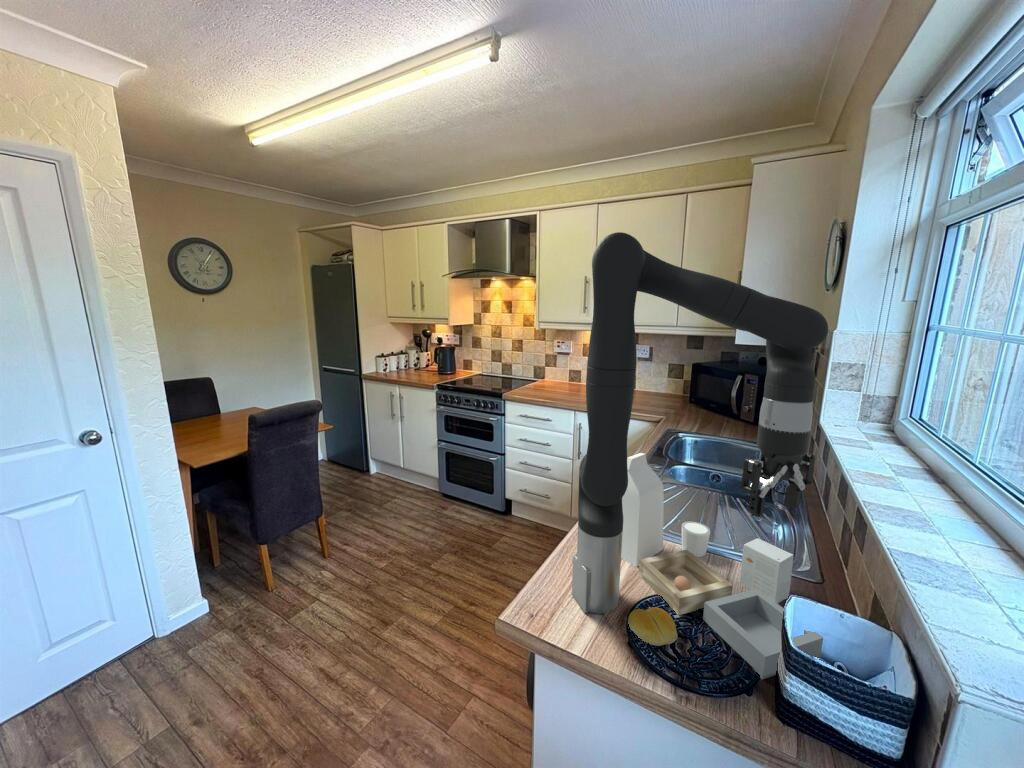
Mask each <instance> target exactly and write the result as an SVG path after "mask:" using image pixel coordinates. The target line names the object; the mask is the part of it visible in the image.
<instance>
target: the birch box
mask: <svg viewBox="0 0 1024 768" xmlns="http://www.w3.org/2000/svg"><path fill="white" fill-rule="evenodd" d="M637 572H638V576H639V577H640V578H641V579H642V581H644V582H645V583H646V584H647V586H649V588H651V589H652V591H653V592H655V594H657V596H659V595H660V596H662V597H663V599H664V600H665V601H666V602H667V603H668V604H669V606H670V607H671V608H672V609H673V610H674V611H675V612H676V613H675V612H674V611H673V610H672V609H671V608H670V607H669V606H668V607H669V608H670V609H671V610H672V611H673V612H674V613H675V614H676V615H677V616H681V615H686V614H688V613H692V611H693V612H697V611H699V610H698V609H700V608H703V607H704V603H705V602H707V601H711V600H715V599H719V598H722V597H726V596H730V595H732V593H733V592H732V591H733V584H732V583H731V582H730V581H728V580H727V579H725V578H724V577H723V576H722V575H720V574H719V573H718V572H716V571H715V570H714V569H712V568H711V567H710V566H709V565H707V564H706V563H705V562H704V561H702V560H701V559H700V558H699V557H696V556H694V555H693V554H692V553H691V552H689V551H688V550H679V551H673V552H670V553H665V554H659V555H654V556H652V557H649V558H644V559H640V560H639V566H638V571H637ZM678 576H684V577H686V578H687V579H688V580H689V581H690V584H691V588H690V589H689V590H685V591H680V590H679V589H677V588H676V587H675V585H674V580H675V578H676V577H678ZM660 596H659V597H660ZM663 599H662V600H663ZM664 600H663V601H664ZM665 601H664V602H665ZM696 610H697V611H696Z"/></svg>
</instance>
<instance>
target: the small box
mask: <svg viewBox="0 0 1024 768" xmlns="http://www.w3.org/2000/svg"><path fill="white" fill-rule="evenodd" d="M741 557H742V558H741V559H742V560H741V568H740V576H739V578H740V579H739V584H740V585H741V586H743V587H744V588H747V589H748V590H753V589H758V590H759V591H761V592H762V593H763V594H765V595H766V596H768V597H769V598H770V599H772V600H773V601H774V602H776V603H777V604H778V605H779V603H781V602H782V601H784V600H787V599H789V598H788V596H789V597H790V590H791V582H792V581H791V580H792V572H793V566H794V565H793V563H794V554H793V553H791V552H788V551H786V550H784V549H782V548H779V547H778V546H775V545H773V544H771V543H769V542H767V541H764V540H763V539H760V538H759V537H758V538H757V537H756V538H755V539H753V540H750V541H748V542H746V543H745V544H743V549H742V556H741Z"/></svg>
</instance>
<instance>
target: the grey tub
mask: <svg viewBox="0 0 1024 768" xmlns="http://www.w3.org/2000/svg"><path fill="white" fill-rule="evenodd" d="M784 609H785V608H784V607H782V605H780V604H779V603H778V604H777V603H776V602H774V601H773V600H772V599H770V598H769V597H768V596H766V595H765V594H763V593H762V592H761V591H759V590H758V589H753V590H750V589H748V590H745V591H743V592H739V593H735V594H731V595H730V596H726V597H722V598H719V599H715V600H711V601H707V602H705V603H704V609H703V613H702V614H703V615H702V621H704V622H705V623H706V624H707V625H708V626H709V627H710V628H711V629H712V631H714V632H715V633H716V634H717V635H719V637H720V638H721V639H722V640H724V641H725V642H726V643H727V644H728V645H729V646H730V647H731V648H732V649H733V650H734V651H735V652H736V653H737V654H738V655H739V656H740V657H741V658H742V659H743V660H745V661H746V663H747V664H749V666H750V667H752V668H751V670H752V671H753V670H754V671H755V672H757V673H758V674H759V675H760V677H759V678H760V679H761V680H766V679H769V678H771V677H774V676H776V671H777V663H778V658H779V655H780V651H781V625H782V618H783V611H784ZM823 641H824V637H823V636H822V635H820V634H819V633H818V632H816V631H815V632H811V631H806V630H804V635H800V636H797V637H794V638H793V642H794V644H795V645H796V647H797V648H798V649H799V650H801V651H803V652H804V653H806V654H808V655H810V656H814V657H817V658H820V659H821V656H822V655H821V654H822V648H823V643H824V642H823ZM754 671H753V672H754ZM755 672H754V673H755Z"/></svg>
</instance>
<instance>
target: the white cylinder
mask: <svg viewBox="0 0 1024 768" xmlns="http://www.w3.org/2000/svg"><path fill="white" fill-rule="evenodd" d="M680 529H681V551H683V550H688V551H689V552H691V553H692V554H693V555H694V556H696V557H697V558H702V557H704V556H706V553H707V549H708V546H709V545H708V544H709V539H710V535H711V530H710V527H708V526H707V525H705V524H703V523H700V522H697V521H685V522H683V523H682V524H681V528H680Z"/></svg>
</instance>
